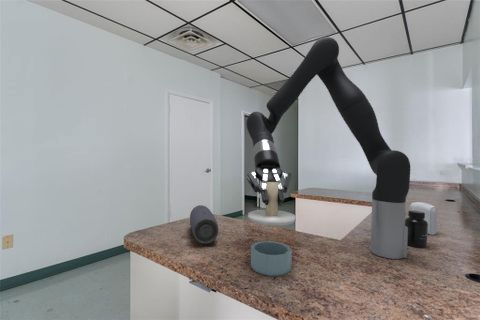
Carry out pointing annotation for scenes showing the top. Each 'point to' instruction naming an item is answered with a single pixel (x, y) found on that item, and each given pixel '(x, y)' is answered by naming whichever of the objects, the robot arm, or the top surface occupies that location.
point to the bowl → (271, 258)
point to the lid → (272, 210)
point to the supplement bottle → (417, 229)
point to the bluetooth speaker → (203, 224)
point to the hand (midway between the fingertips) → (273, 203)
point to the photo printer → (427, 215)
